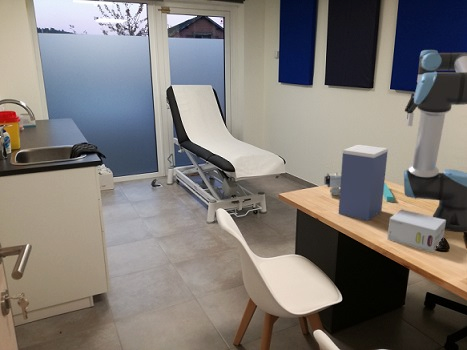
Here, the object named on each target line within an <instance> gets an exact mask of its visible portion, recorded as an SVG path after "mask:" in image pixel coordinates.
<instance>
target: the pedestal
mask: <svg viewBox="0 0 467 350" xmlns="http://www.w3.org/2000/svg"><path fill="white" fill-rule="evenodd" d="M388 152H389V150H388V147H379V146H372V145H365V144H356V145H353V146H351V147H347V148H345V149H343V150H342V161H341V171H340V172H341V173H340V174H341V185H340V187H339V189H340V195H339V201H338V215H343V216H347V217H350V218H354V219H357V220H358V219H359V220H363V221H366V222H369V221H370V220H372V219H373V218H374V217H375V216H377V215H378V214H379V213H381V212H382V208H383V200H384V199H383V198H384V195H383V191H384V183H385V181H386V180H385V179H386V170H387V161H388Z"/></svg>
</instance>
